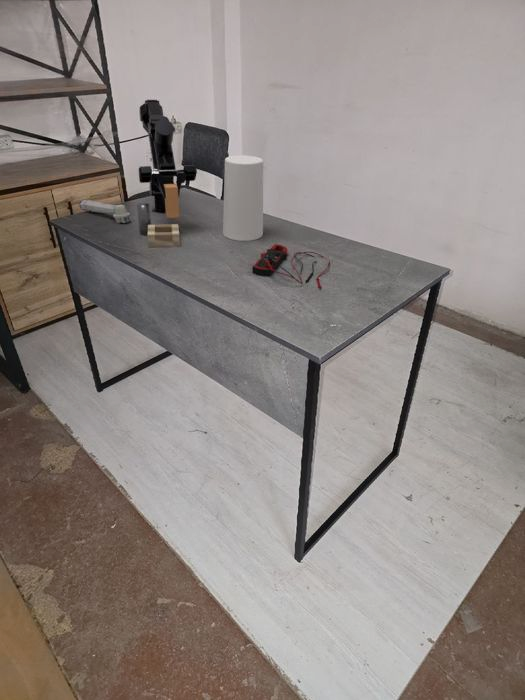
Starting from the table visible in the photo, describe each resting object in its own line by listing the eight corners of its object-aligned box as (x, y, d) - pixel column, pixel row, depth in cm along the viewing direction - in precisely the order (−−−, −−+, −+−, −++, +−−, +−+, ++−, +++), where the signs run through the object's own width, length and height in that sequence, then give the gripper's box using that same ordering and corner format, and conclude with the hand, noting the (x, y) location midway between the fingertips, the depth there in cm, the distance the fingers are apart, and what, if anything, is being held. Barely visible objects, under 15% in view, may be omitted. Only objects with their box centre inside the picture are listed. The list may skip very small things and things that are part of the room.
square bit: (165, 214, 159) (163, 184, 153) (177, 213, 160) (175, 183, 154) (167, 217, 156) (165, 187, 150) (179, 217, 157) (177, 187, 151)
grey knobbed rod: (87, 198, 180) (130, 201, 166) (92, 215, 183) (134, 220, 169) (76, 201, 176) (118, 204, 163) (80, 218, 179) (122, 224, 166)
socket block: (149, 236, 158) (148, 224, 156) (178, 235, 160) (178, 224, 158) (148, 247, 150) (147, 235, 148) (179, 246, 152) (179, 234, 150)
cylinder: (256, 165, 142) (215, 160, 146) (254, 243, 156) (216, 237, 160) (271, 157, 153) (232, 152, 157) (268, 230, 167) (232, 225, 171)
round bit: (143, 231, 162) (140, 202, 157) (154, 232, 161) (151, 203, 156) (138, 234, 159) (134, 205, 154) (148, 236, 158) (145, 206, 153)
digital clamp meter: (242, 264, 132) (271, 236, 151) (242, 279, 134) (270, 249, 154) (322, 278, 125) (341, 247, 145) (320, 293, 128) (339, 261, 148)
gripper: (189, 166, 165) (196, 207, 163) (136, 168, 160) (142, 210, 158) (193, 148, 155) (200, 191, 153) (135, 149, 150) (143, 193, 147)
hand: (171, 197), depth 153 cm, fingers closed on square bit, 4 cm apart
